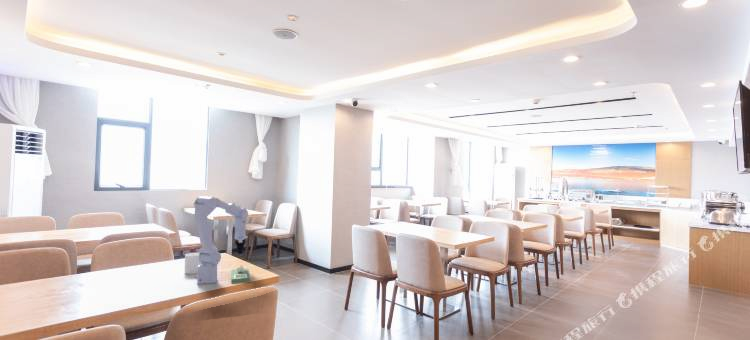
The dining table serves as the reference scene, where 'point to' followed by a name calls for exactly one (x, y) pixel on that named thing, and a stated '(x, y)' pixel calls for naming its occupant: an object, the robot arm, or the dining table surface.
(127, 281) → the dining table surface
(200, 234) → the robot arm
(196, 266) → the cup
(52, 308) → the dining table surface
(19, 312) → the dining table surface
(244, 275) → the green
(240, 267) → the ball
